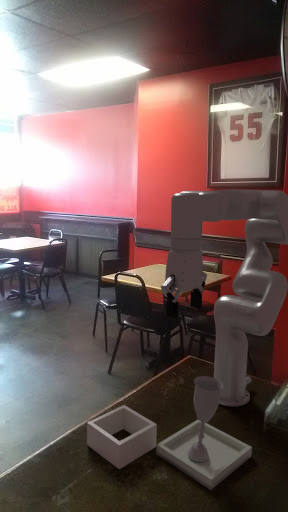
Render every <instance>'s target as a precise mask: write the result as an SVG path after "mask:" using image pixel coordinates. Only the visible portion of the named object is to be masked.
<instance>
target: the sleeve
mask: <svg viewBox="0 0 288 512" xmlns="http://www.w3.org/2000/svg"><path fill="white" fill-rule="evenodd" d="M157 425H158V424H157V423H155V422H154V421H152V420H151V419H148V417H147V418H146V416H143V415H142V414H140V413H138V412H137V411H135V410H133V409H132V408H130V407H128V406H127V405H125V404H122V405H121V406H119V407H116V408H114V409H113V410H111V411H108V412H106V413H105V414H102V415H100V416H98V417H95V418H93V419H91V420H89V421H87V422H86V426H87V427H86V445H87V446H88V447H89V448H91V449H92V450H93V451H95V452H96V453H97V454H99V456H101V457H102V458H104V459H105V460H106V461H108V462H109V463H111V465H113V466H114V467H115V468H117V469H118V470H120V469H122V468H124V467H126V466H127V465H129V464H130V463H132V462H133V461H136V460H137V459H139V458H140V457H142V456H143V455H145V454H147V453H149V452H150V451H151V450H153V449H154V448H155V449H156V448H157V432H158V431H157V427H158V426H157ZM122 430H124V431H126V432H128V433H130V435H129V436H127V437H125V438H124V439H121V440H118V439H117V438H116V437H114V436H113V435H114V434H115V435H116V433H118V432H121V431H122Z"/></svg>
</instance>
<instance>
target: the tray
mask: <svg viewBox="0 0 288 512" xmlns="http://www.w3.org/2000/svg"><path fill="white" fill-rule="evenodd" d="M200 425H201V421H199V420H198V419H196V420H195V421H193V422H191V423H190V424H188V425H187V426H185V427H183V428H182V429H180V430H179V431H177V432H175V433H173V434H172V435H170V436H168V437H167V438H165V439H163V440H162V441H160V442H158V443H156V454H155V455H157V456H158V457H160V458H161V459H163V460H165V461H166V462H168V463H170V464H171V465H173V467H175V468H177V469H178V470H179V471H181V472H183V473H184V474H186V475H187V476H188V477H190V478H192V479H193V480H194V481H196V482H198V483H200V484H201V485H202V486H204V487H205V488H207V489H209V490H210V491H212V490H213V489H215V487H217V486H218V485H219V484H220V483H221V482H222V481H224V480H225V479H226V478H227V477H228V476H230V475H231V474H232V473H233V472H235V471H236V470H237V469H239V467H241V466H242V465H244V463H246V462H247V461H248V460H249V459H250V458H251V457H252V453H253V451H252V450H253V447H252V446H251V445H250V444H247V443H245V442H243V441H241V440H239V439H237V438H236V437H234V436H233V435H230V434H228V433H226V432H224V431H222V430H220V429H219V428H216V427H215V426H212V425H211V424H209V423H208V422H205V431H204V432H203V434H204V436H205V437H204V438H203V440H202V443H203V444H204V445H205V446H206V448H207V451H208V455H209V459H208V460H207V461H205V462H197V461H194V460H192V459H191V458H190V457H189V456H188V451H189V450H190V448H191V446H192V445H193V444H194V443H197V442H198V440H199V439H198V436H197V435H198V434H199V433H200V430H199V427H200Z"/></svg>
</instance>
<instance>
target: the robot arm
mask: <svg viewBox="0 0 288 512" xmlns="http://www.w3.org/2000/svg"><path fill="white" fill-rule="evenodd" d="M170 204H171V205H170V250H168V255H167V258H166V265H165V275H164V276H165V277H164V282H163V283H162V284H161V286H160V289H161V292H162V296H163V297H164V301H166V316H167V317H169V318H174V319H179V312H180V311H179V310H180V309H179V306H180V305H179V304H180V303H179V301H178V299H179V298H180V295H181V294H184V293H186V292H190V307H191V308H194V309H198V310H201V309H202V307H203V294H204V291H205V289H204V288H205V285H206V281H207V278H208V273H205V272H204V261H203V260H204V259H203V252H202V251H203V250H202V249H203V247H202V246H203V223H204V222H207V223H208V222H209V223H216V222H217V223H218V222H220V221H243V220H246V222H245V224H244V235H245V243H246V253H245V257H244V259H243V260H242V263H241V264H240V266H239V269H238V271H237V272H236V274H235V277H234V279H233V281H232V286H231V287H232V290H233V292H234V294H235V295H232V294H225V295H221V296H220V297H219V298H217V300H216V301H215V303H214V307H213V317H214V323H215V345H214V346H215V347H214V348H215V349H214V365H213V366H214V369H213V378H216V379H218V380H219V381H221V382H222V383H223V385H224V387H223V389H222V390H221V392H220V399H219V405H222V406H225V407H233V408H234V407H241V406H244V405H246V404H248V403H249V401H250V400H251V398H250V392H249V391H248V390H247V389H246V388H247V385H248V384H250V383H251V382H252V378H251V376H247V367H248V350H249V341H248V338H247V335H246V333H247V334H250V335H255V336H260V337H261V336H266V335H268V334H269V333H270V332H271V330H272V329H273V327H274V324H275V322H276V321H277V317H278V315H279V313H280V310H281V308H282V306H283V304H284V302H285V299H286V297H287V293H288V280H287V278H286V276H285V275H284V274H283V273H281V272H279V271H275V270H271V269H272V266H273V262H274V258H273V256H272V253H271V251H270V250H269V248H268V247H267V244H266V243H271V244H280V245H288V194H287V193H285V192H284V191H282V190H275V189H274V190H272V189H271V190H269V189H268V190H266V189H219V190H183V191H180V192H177V193H174V194H172V197H171V202H170ZM173 294H174V295H173Z"/></svg>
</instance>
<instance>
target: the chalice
mask: <svg viewBox="0 0 288 512" xmlns="http://www.w3.org/2000/svg"><path fill="white" fill-rule="evenodd" d="M193 383H194V386H195V387H194V393H193V400H192V401H193V407H194V412H195V415H196V418H197V420H199V421H201V425H200V427H199V430H200V433H199V434H198V435H197V436H198V439H199V440H198V442H197V443H194V444H193V445H192V446H191V448H190V450H189V451H188V456H189V457H190V458H191V459H192V460H194V461H197V462H205V461H207V460H208V459H209V455H208V451H207V448H206V446H205V445H204V444H203V443H202V440H203V438H204V437H205V436H204V434H203V432H204V431H205V423H209V422H210V421H211V419H212V418H213V416H214V415H215V414H216V411H217V410H218V407H219V405H220V404H219V399H220V392H221V390H222V389H223V387H224V385H223V383H222V382H221V381H219V380H218V379H216V378H214V376H213V377H212V376H207V375H202V376H196V377H195V378H194V379H193Z"/></svg>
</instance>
